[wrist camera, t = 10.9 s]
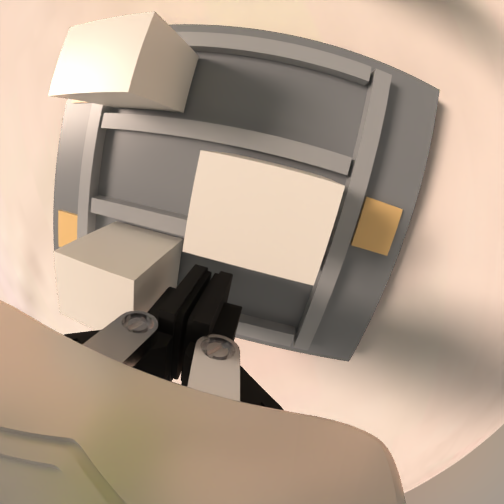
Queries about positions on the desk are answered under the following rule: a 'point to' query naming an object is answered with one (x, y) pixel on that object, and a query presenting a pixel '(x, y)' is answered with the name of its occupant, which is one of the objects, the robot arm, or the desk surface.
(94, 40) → the tab
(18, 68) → the desk surface
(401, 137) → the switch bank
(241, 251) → the tab
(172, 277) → the tab
